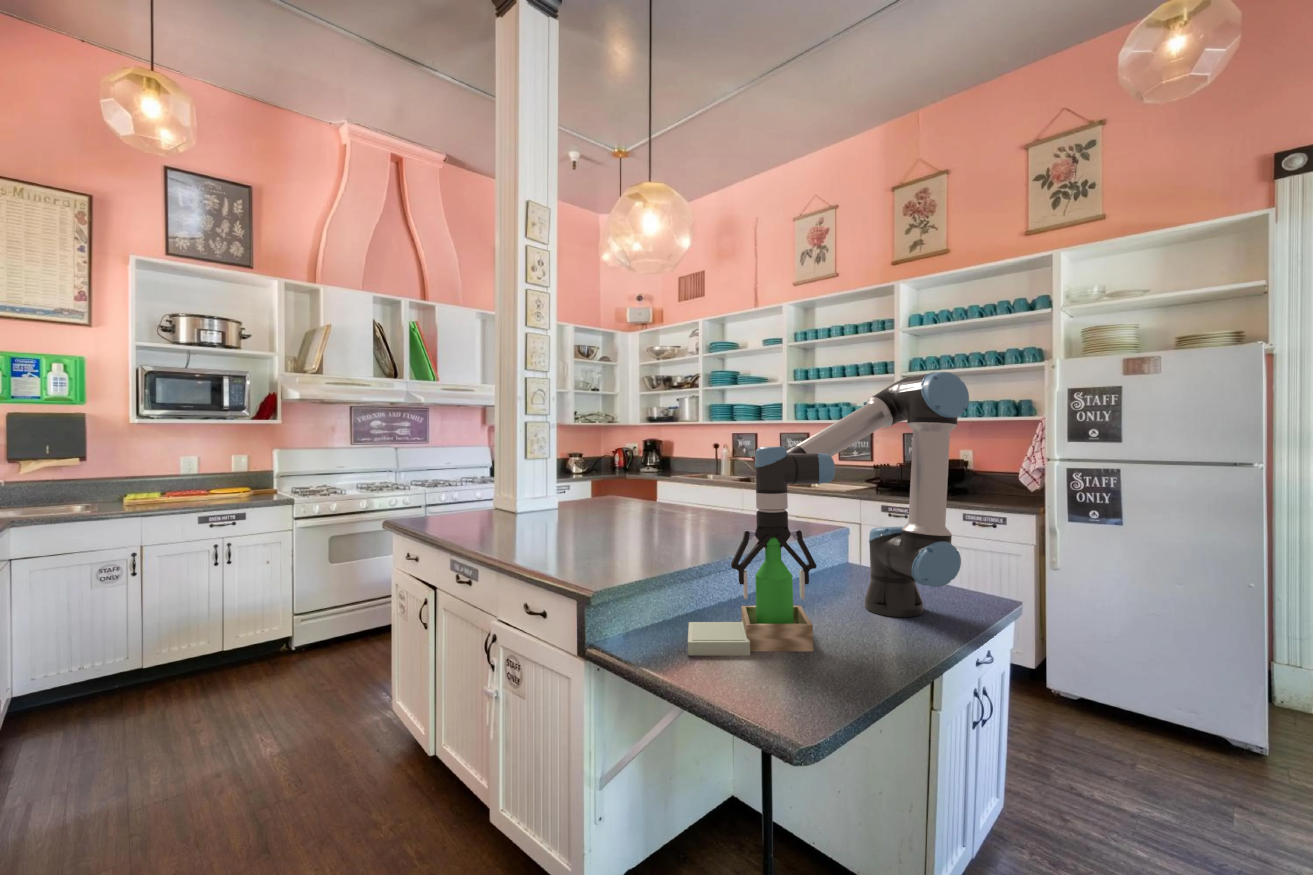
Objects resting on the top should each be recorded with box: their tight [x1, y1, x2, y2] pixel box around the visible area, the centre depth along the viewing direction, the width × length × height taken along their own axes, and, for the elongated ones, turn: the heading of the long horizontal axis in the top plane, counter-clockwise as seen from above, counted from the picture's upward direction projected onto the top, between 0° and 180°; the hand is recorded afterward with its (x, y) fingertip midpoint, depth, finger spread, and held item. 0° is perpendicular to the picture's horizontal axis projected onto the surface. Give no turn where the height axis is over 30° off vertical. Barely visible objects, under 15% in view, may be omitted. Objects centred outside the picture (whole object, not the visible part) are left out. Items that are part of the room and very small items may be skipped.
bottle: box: [754, 537, 794, 624], centre depth 135 cm, size 9×9×25 cm
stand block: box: [687, 621, 751, 657], centre depth 133 cm, size 14×14×3 cm
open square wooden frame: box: [740, 605, 814, 652], centre depth 135 cm, size 15×15×6 cm
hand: (773, 597), depth 135 cm, fingers open, 13 cm apart
